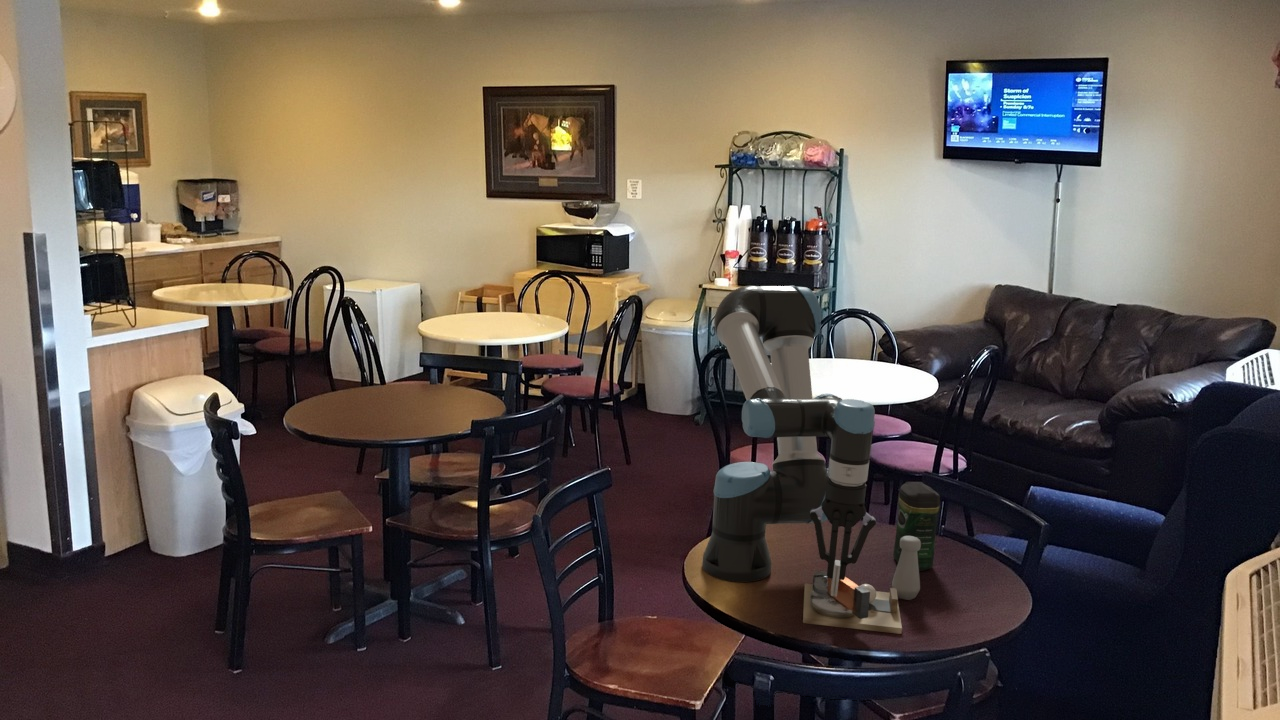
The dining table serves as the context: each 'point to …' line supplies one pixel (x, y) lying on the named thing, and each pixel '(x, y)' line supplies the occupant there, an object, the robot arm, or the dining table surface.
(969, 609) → the dining table surface
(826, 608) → the grey round-based piece
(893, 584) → the salt shaker
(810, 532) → the dining table surface
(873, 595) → the ball
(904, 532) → the coffee jar
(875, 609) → the stand
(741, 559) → the robot arm
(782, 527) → the dining table surface
